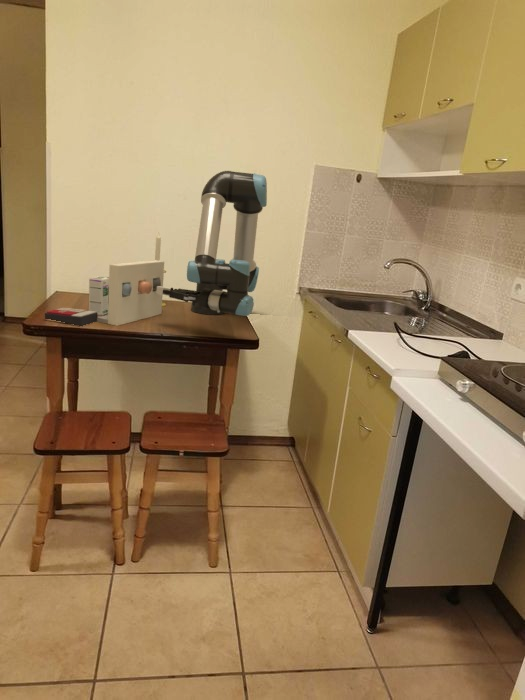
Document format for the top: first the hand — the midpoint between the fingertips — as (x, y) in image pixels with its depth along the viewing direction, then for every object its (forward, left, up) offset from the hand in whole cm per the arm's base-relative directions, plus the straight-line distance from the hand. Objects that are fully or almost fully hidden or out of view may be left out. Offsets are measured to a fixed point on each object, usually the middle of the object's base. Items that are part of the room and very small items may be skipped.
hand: (157, 289), depth 197 cm
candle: (-30, -20, -13) cm, 39 cm away
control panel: (0, -12, -13) cm, 17 cm away
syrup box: (+4, -24, -13) cm, 28 cm away
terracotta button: (0, -6, -2) cm, 6 cm away
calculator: (+20, -23, -14) cm, 34 cm away
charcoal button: (-10, -9, -2) cm, 13 cm away
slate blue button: (+10, -9, -2) cm, 13 cm away
